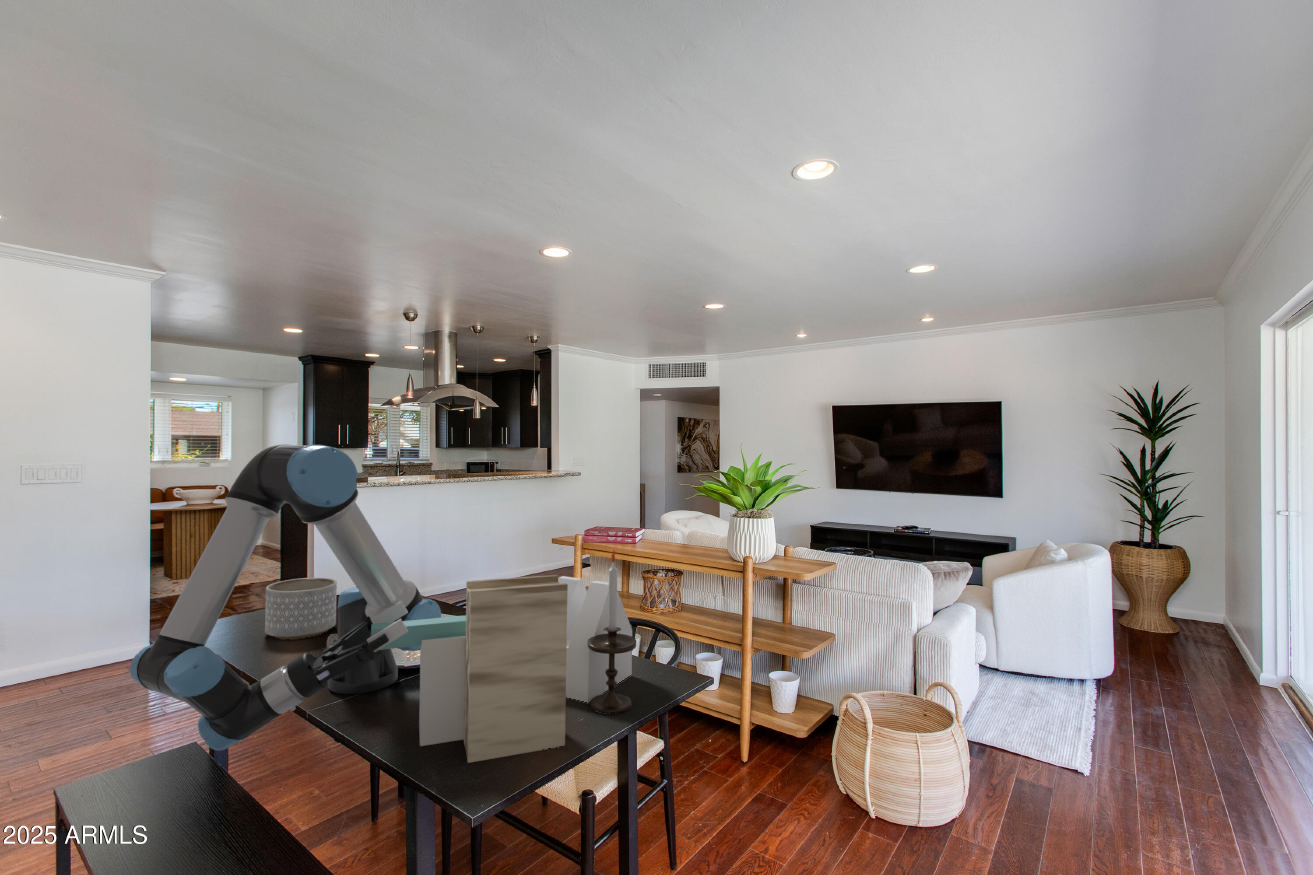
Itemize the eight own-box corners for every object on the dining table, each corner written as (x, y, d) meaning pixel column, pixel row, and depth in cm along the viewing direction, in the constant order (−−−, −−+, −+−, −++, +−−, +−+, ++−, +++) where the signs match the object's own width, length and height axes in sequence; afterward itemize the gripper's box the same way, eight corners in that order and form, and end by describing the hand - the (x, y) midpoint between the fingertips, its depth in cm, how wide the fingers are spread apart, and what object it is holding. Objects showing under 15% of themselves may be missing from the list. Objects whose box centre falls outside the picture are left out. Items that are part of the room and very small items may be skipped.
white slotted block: (581, 664, 163) (582, 570, 164) (631, 675, 156) (633, 576, 156) (534, 689, 146) (536, 584, 147) (587, 703, 139) (589, 592, 139)
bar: (371, 644, 121) (371, 623, 121) (524, 628, 133) (525, 609, 133) (370, 650, 117) (371, 629, 117) (528, 633, 129) (528, 614, 129)
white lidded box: (419, 725, 127) (420, 628, 127) (508, 712, 134) (509, 620, 134) (420, 746, 118) (421, 641, 119) (515, 731, 125) (516, 632, 125)
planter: (284, 645, 174) (285, 594, 174) (252, 633, 184) (253, 585, 184) (348, 629, 190) (349, 582, 190) (315, 619, 200) (316, 575, 200)
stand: (463, 740, 121) (466, 580, 121) (554, 725, 128) (557, 574, 128) (467, 762, 113) (471, 591, 113) (564, 745, 119) (567, 584, 120)
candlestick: (636, 715, 133) (638, 553, 133) (585, 716, 132) (588, 553, 132) (634, 695, 144) (636, 544, 144) (587, 695, 143) (589, 544, 143)
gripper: (316, 674, 127) (413, 614, 134) (296, 726, 104) (415, 651, 111) (296, 644, 126) (395, 585, 132) (271, 690, 102) (393, 616, 109)
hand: (404, 615), depth 122 cm, fingers open, 13 cm apart
